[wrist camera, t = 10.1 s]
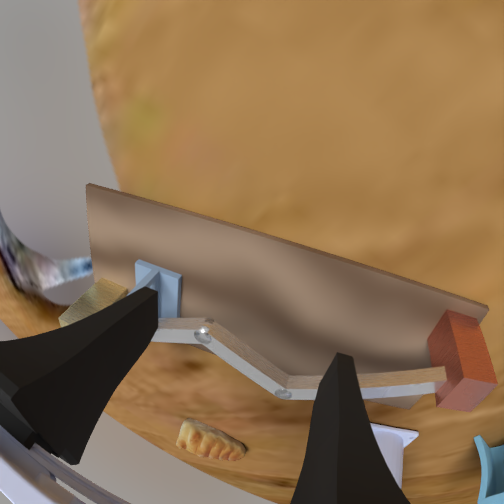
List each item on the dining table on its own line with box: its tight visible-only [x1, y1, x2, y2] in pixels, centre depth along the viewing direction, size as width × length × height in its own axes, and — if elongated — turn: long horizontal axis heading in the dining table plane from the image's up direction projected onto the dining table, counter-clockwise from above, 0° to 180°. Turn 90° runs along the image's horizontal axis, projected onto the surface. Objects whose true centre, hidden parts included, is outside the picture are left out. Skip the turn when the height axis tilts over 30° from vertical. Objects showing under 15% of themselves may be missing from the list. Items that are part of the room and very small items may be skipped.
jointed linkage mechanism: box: [59, 277, 498, 412], centre depth 21 cm, size 5×32×6 cm, turn 92°
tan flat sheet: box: [86, 183, 489, 409], centre depth 24 cm, size 13×32×1 cm, turn 80°
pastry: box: [176, 418, 246, 461], centre depth 37 cm, size 9×7×4 cm
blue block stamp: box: [127, 259, 182, 318], centre depth 22 cm, size 4×6×10 cm, turn 170°
